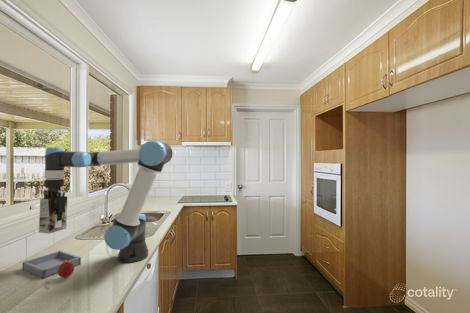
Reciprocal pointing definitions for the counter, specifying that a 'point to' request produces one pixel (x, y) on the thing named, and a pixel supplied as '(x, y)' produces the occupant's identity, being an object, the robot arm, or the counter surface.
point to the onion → (65, 269)
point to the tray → (49, 263)
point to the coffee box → (50, 216)
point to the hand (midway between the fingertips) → (53, 226)
